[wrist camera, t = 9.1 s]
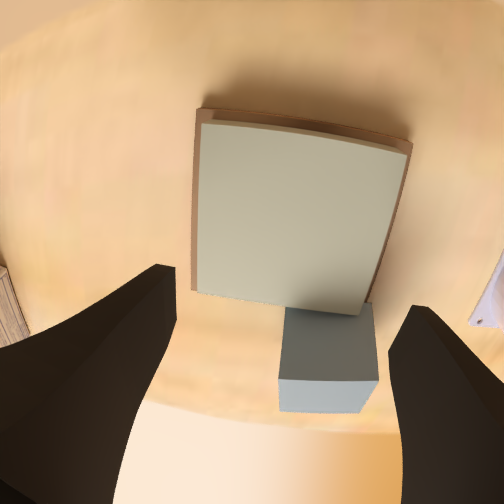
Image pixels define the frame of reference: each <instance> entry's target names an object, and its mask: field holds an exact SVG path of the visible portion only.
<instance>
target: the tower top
mask: <svg viewBox="0 0 504 504" xmlns="http://www.w3.org/2000/svg"><path fill="white" fill-rule="evenodd" d="M406 159H407V155H406V154H404V153H403V152H402V151H400V150H399V149H397V148H395V147H391V146H387V145H383V144H378V143H374V142H369V141H365V140H360V139H355V138H350V137H345V136H340V135H334V134H329V133H323V132H317V131H311V130H304V129H298V128H291V127H283V126H276V125H268V124H259V123H250V122H240V121H228V120H215V119H210V120H208V121H206V122H204V123H202V125H201V143H200V164H199V190H198V232H197V293H200V294H206V295H212V296H218V297H225V298H231V299H237V300H244V301H250V302H257V303H264V304H271V305H278V306H285V307H292V308H300V309H307V310H315V311H323V312H331V313H340V314H348V315H357V316H359V314H360V311H361V308H362V306H363V303H364V300H365V298H366V295H367V292H368V289H369V287H370V284H371V281H372V278H373V275H374V272H375V269H376V266H377V263H378V260H379V257H380V254H381V251H382V248H383V245H384V241H385V238H386V235H387V231H388V228H389V225H390V221H391V218H392V214H393V211H394V207H395V203H396V200H397V196H398V192H399V188H400V184H401V180H402V176H403V172H404V168H405V163H406Z"/></svg>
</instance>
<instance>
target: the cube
mask: <svg viewBox="0 0 504 504" xmlns="http://www.w3.org/2000/svg"><path fill="white" fill-rule="evenodd" d="M378 382H379V374H378V361H377V349H376V339H375V329H374V320H373V312H372V304H371V303H363V306H362V308H361V311H360V314H359V316H357V315H348V314H340V313H331V312H323V311H315V310H307V309H300V308H292V307H286V309H285V320H284V330H283V340H282V350H281V359H280V369H279V378H278V383H279V407H280V412H298V413H360V411H361V410H362V408H363V406H364V405H365V403H366V402H367V400H368V398H369V397H370V395H371V393H372V392H373V390H374V388H375V387H376V385H377V383H378Z"/></svg>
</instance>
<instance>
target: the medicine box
mask: <svg viewBox="0 0 504 504" xmlns="http://www.w3.org/2000/svg"><path fill="white" fill-rule="evenodd" d="M28 337H30V333H29V331H28V329H27V326H26V324H25V321H24V319H23V316H22V313H21V311H20V308H19V305H18V303H17V300H16V297H15V294H14V291H13V288H12V285H11V282H10V279H9V275H8V272H7V268H5V267H2V266H0V348H2V347H5V346H8V345H10V344H13V343H16V342H18V341H21V340H23V339H26V338H28Z"/></svg>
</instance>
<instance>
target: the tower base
mask: <svg viewBox="0 0 504 504" xmlns="http://www.w3.org/2000/svg"><path fill="white" fill-rule="evenodd" d="M210 119H215V120H228V121H240V122H250V123H259V124H268V125H276V126H283V127H291V128H298V129H304V130H311V131H317V132H323V133H329V134H334V135H340V136H345V137H350V138H355V139H360V140H365V141H369V142H374V143H378V144H383V145H387V146H391V147H395V148H397V149H399V150H400V151H402V152H403V153H404V154H406V155H407V159H406V163H405V168H404V172H403V176H402V180H401V184H400V188H399V192H398V196H397V200H396V203H395V207H394V211H393V214H392V218H391V221H390V225H389V228H388V231H387V235H386V238H385V241H384V245H383V248H382V251H381V254H380V257H379V260H378V263H377V266H376V269H375V272H374V275H373V278H372V281H371V284H370V287H369V289H368V292H367V295H366V298H365V300H364V303H367V300H368V297H369V295H370V292H371V289H372V286H373V284H374V281H375V278H376V275H377V272H378V269H379V266H380V263H381V260H382V257H383V254H384V251H385V248H386V245H387V242H388V239H389V236H390V232H391V229H392V226H393V222H394V219H395V215H396V212H397V208H398V205H399V201H400V197H401V194H402V190H403V186H404V182H405V178H406V174H407V170H408V166H409V161H410V157H411V153H412V148H413V143H411V142H409V141H407V140H403V139H399V138H396V137H392V136H388V135H384V134H379V133H375V132H371V131H366V130H362V129H357V128H353V127H348V126H343V125H338V124H332V123H327V122H321V121H316V120H310V119H303V118H297V117H290V116H283V115H276V114H268V113H259V112H250V111H240V110H228V109H215V108H198V109H196V123H195V140H194V159H193V183H192V217H191V290H193V291H197V232H198V190H199V164H200V143H201V125H202V123H204V122H206V121H208V120H210Z"/></svg>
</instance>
